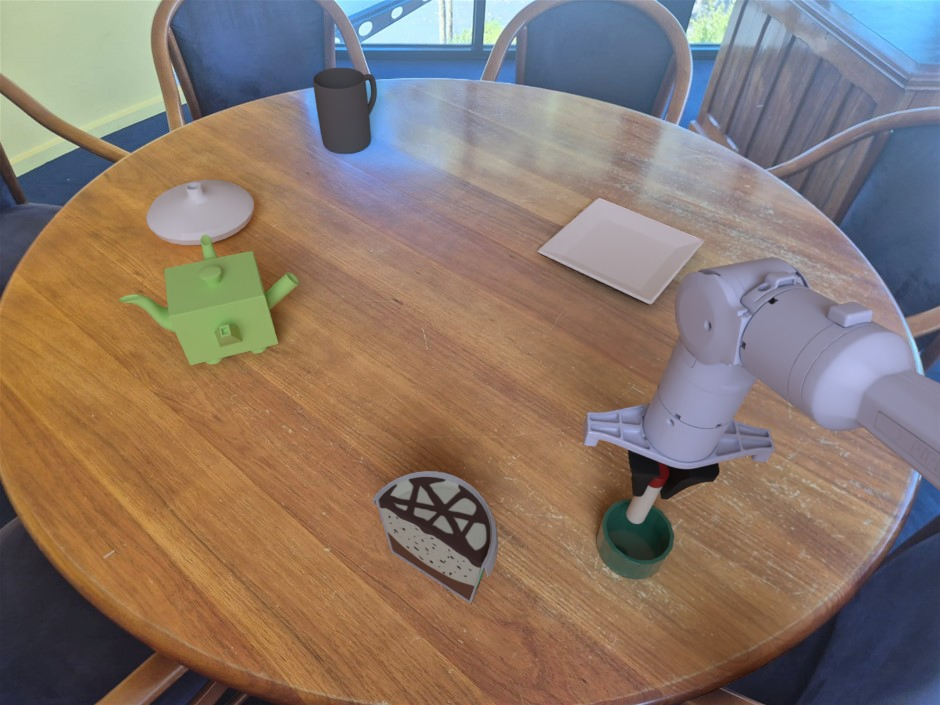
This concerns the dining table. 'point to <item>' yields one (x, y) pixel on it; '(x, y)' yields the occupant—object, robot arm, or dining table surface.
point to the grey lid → (200, 212)
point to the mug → (344, 108)
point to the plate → (622, 249)
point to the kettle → (218, 305)
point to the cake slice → (440, 529)
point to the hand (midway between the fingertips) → (649, 487)
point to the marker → (647, 497)
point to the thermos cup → (634, 541)
